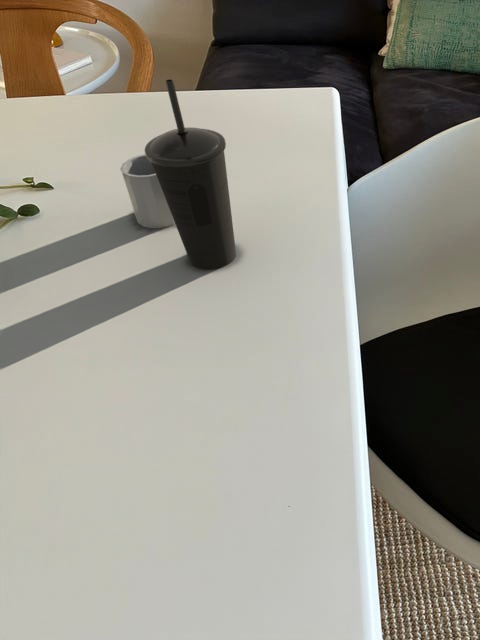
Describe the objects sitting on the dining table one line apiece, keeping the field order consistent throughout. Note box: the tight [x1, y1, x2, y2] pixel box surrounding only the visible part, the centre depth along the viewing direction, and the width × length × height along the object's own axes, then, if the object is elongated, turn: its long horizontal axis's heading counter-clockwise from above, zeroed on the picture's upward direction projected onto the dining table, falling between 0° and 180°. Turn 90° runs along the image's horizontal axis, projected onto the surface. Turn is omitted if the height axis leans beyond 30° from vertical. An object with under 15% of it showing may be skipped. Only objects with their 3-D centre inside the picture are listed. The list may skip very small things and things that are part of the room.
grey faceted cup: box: [119, 153, 176, 229], centre depth 90 cm, size 6×6×7 cm
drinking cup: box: [144, 78, 237, 271], centre depth 79 cm, size 8×8×20 cm
